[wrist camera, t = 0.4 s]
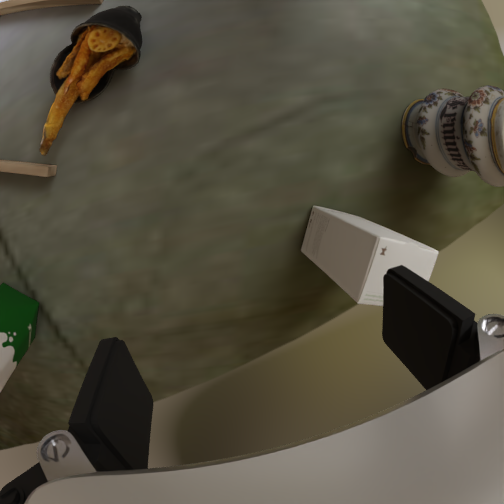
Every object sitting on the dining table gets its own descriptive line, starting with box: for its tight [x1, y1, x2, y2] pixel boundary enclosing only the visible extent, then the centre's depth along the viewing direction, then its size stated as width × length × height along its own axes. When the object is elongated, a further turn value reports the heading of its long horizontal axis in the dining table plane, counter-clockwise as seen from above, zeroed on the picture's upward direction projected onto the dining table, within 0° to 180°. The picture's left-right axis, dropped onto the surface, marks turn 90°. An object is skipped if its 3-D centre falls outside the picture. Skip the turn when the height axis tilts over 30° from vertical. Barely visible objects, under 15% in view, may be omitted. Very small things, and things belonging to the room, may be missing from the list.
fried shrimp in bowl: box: [40, 6, 142, 156], centre depth 25 cm, size 9×11×18 cm
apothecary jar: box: [402, 86, 504, 187], centre depth 29 cm, size 12×12×18 cm
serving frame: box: [0, 0, 103, 177], centre depth 25 cm, size 24×19×2 cm
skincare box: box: [301, 206, 439, 306], centre depth 33 cm, size 8×7×16 cm
